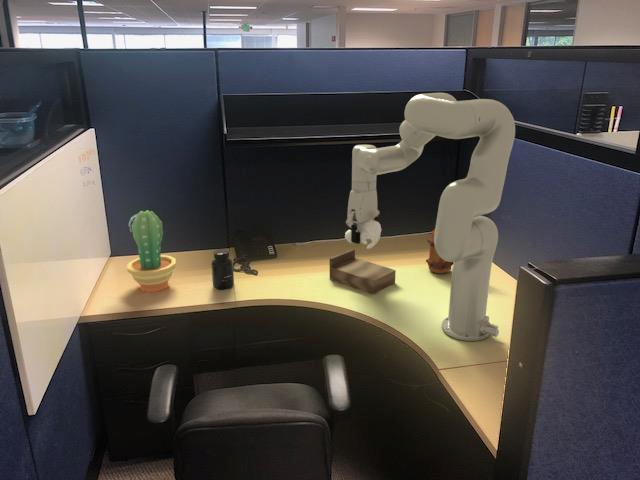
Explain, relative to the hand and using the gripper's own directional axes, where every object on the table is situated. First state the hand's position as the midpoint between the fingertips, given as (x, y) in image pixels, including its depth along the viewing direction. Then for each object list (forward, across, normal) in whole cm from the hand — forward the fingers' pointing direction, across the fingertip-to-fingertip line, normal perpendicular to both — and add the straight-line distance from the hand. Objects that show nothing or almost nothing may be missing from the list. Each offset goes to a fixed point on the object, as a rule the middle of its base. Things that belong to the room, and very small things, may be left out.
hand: (362, 239), depth 165 cm
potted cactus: (+15, +48, -48) cm, 69 cm away
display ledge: (+14, 0, 0) cm, 14 cm away
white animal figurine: (+2, 0, 0) cm, 2 cm away
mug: (+15, -25, +17) cm, 34 cm away
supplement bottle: (+15, +33, -31) cm, 48 cm away
